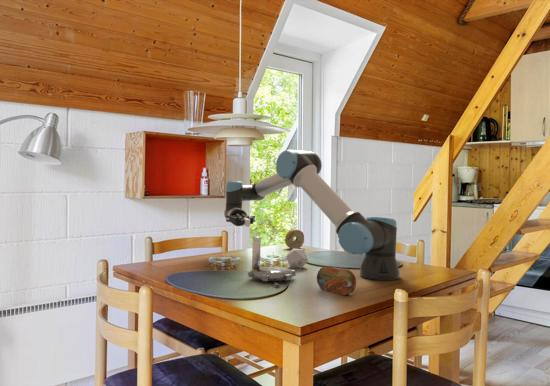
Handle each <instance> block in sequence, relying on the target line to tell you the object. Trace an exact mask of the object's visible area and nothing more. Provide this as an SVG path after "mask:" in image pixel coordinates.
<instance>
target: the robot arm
mask: <svg viewBox="0 0 550 386" xmlns="http://www.w3.org/2000/svg"><path fill="white" fill-rule="evenodd" d="M275 165H276V166H275V170H276V173H274V174H272V175H270V176H269V177H268V176H267V177H265V178H264V179H261V180H260V181H257V182H255V183H253V184H244V183H243V181H241V180H228V181H226V185H225V186H226V187H225V198H226V199H225V209H224V212H223V215H224V217H225V220H226V221H225V222H227V223H231V224H233V226H236V227H243V226H245V227H251V225H253V224H254V222H256V215H251V216H249V215H248V214H247V213H246V211H245V210H243V202H246V201H247V202H248V201H261V200H264V199H265V198H266V196H269V195H271V194H273V193H276V192H277V191H279V190H282V189H285V188H287V187H289V186H294V187H295V188H301V189H302V191H304V193H305V194H306V195H307V196H308V198H310V199H311V201H313V203H314V204H315V205H316V206H317V207H318V208H319V209H320V211H322V213H323V214H324V215H325V216H326V217H327V219H329V220H330V221H331V222H332V224H333V225H334V226H335V233H336V234H337V238H338V243H339V246H340V247H341V248H342V249H343V251H345V252H347V254H348V253H349V254H350V255H364V257H363V260H362V263H361V267H360V268H359V276H360V277H362V278H365V279H367V280H369V279H370V280H375V281H395V280H399V279H400V274H401V273H400V269H399V265H398V261H397V258H396V255H397V254H396V250H397V231H398V228H397V227H398V226H397V221H396V220H395V218H388V217H380V216H370V215H369V216H366V218H365V217H364V216H363V214H362V213H361V212H359V211H353V210H352V209H351V207H349V206H348V205H347V204H346V203H345V202H344V200H343V199H342V198H341V197H340V196H339V195H338V194H337V193H336V192H335V191H334V190H333V189H332V188H331V186H330V185H329V184H328V183H327V182H326V181H325V180H324V179H323V178H322V177H321V176H320V175H319V174H320V173H321V171H322V168H323V167H322V166H323V165H322V160H321V158H320V157H319V155H318V154H316V153H315V152H313V151H311V150H309V151H308V150H298V149H297V150H295V149H287V150H283V151H282V152H280V154H279V155H278V156H277V158H276V162H275Z"/></svg>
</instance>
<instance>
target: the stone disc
mask: <svg viewBox="0 0 550 386" xmlns="http://www.w3.org/2000/svg"><path fill="white" fill-rule="evenodd" d="M284 238H285V239H284V242H285V245H286V246H287V247H288V248H289V249H291V250H292V249H293V248H295V249H301V247H302V246H303V245H304V242H305V234H304V233H303V231H301V230H300V229H290V230H288V231H287V233H286V234H285V237H284ZM294 238H295V240H294Z"/></svg>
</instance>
